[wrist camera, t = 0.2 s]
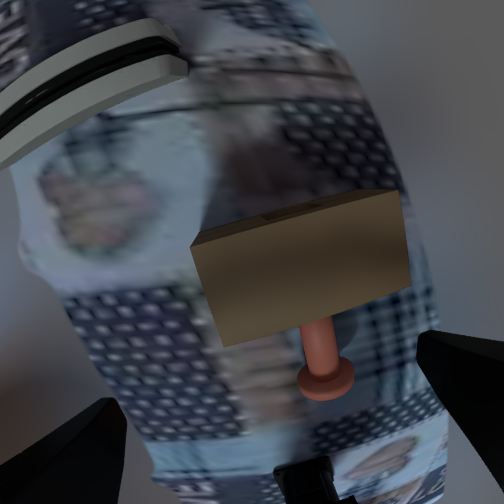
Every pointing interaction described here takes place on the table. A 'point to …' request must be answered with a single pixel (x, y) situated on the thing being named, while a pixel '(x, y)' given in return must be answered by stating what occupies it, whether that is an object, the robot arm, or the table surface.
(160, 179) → the table surface
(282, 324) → the block
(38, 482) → the robot arm
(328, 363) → the pin
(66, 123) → the white curved piece
